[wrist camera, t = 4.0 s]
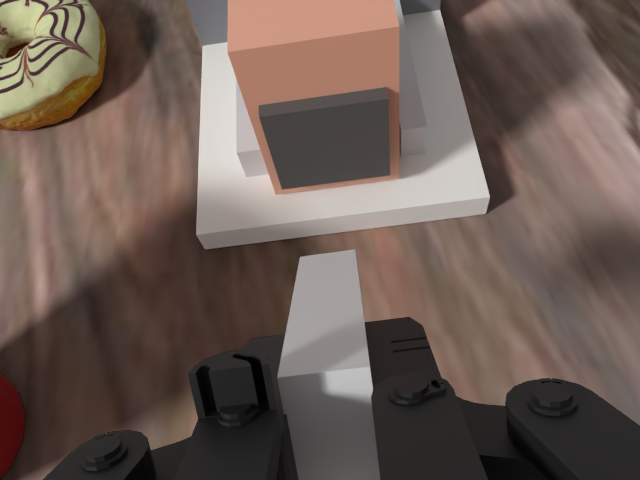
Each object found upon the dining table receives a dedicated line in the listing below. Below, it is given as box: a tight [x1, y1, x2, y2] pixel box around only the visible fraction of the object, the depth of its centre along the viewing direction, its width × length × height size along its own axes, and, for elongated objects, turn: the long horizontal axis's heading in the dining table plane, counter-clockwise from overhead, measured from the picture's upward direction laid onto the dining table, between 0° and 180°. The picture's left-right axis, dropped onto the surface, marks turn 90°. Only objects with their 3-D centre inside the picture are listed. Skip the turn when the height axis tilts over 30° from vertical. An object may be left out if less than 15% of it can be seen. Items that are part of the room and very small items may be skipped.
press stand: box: [186, 0, 490, 249], centre depth 28 cm, size 14×16×10 cm
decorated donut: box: [0, 0, 107, 131], centre depth 35 cm, size 10×11×4 cm
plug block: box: [227, 0, 399, 195], centre depth 25 cm, size 6×6×9 cm
